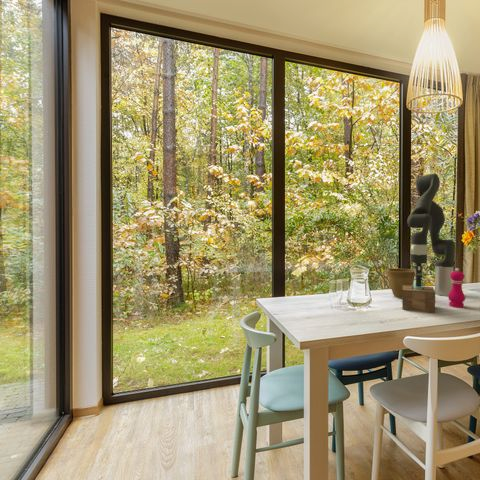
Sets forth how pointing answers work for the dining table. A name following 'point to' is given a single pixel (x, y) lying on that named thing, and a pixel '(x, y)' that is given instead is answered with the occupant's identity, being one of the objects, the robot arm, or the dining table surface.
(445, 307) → the dining table surface
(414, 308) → the socket block
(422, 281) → the peg
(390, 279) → the plant pot
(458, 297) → the pepper mill
